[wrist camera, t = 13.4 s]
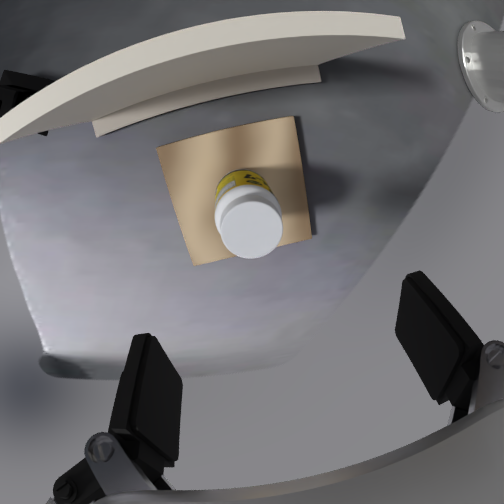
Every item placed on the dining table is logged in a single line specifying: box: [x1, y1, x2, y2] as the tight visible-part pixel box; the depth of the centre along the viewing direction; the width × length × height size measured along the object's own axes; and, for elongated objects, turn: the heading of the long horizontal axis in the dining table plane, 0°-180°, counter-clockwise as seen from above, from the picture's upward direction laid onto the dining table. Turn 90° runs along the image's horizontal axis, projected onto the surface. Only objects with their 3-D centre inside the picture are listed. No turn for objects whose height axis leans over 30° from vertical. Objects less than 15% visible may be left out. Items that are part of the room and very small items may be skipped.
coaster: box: [156, 116, 312, 266], centre depth 26 cm, size 12×12×1 cm
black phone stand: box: [0, 70, 55, 136], centre depth 17 cm, size 12×7×5 cm, turn 63°
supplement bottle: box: [215, 169, 283, 259], centre depth 22 cm, size 5×5×8 cm
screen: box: [0, 11, 405, 144], centre depth 15 cm, size 20×4×14 cm, turn 102°
